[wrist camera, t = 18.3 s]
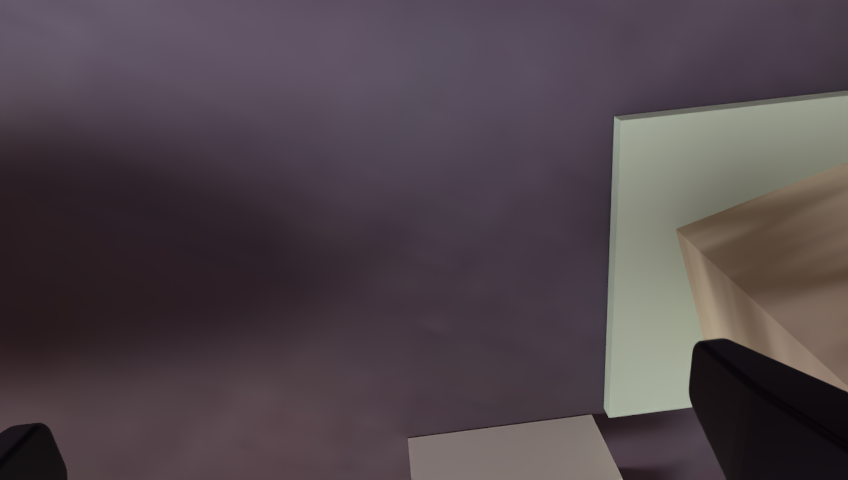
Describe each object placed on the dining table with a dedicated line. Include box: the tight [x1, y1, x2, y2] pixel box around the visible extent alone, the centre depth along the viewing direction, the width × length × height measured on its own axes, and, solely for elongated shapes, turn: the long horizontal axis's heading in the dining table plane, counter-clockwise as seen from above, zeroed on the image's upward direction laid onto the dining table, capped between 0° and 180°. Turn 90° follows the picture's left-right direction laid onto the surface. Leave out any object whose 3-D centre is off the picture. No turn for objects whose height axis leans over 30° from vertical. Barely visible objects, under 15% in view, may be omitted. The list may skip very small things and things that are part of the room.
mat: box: [604, 90, 848, 418], centre depth 24 cm, size 12×12×1 cm
